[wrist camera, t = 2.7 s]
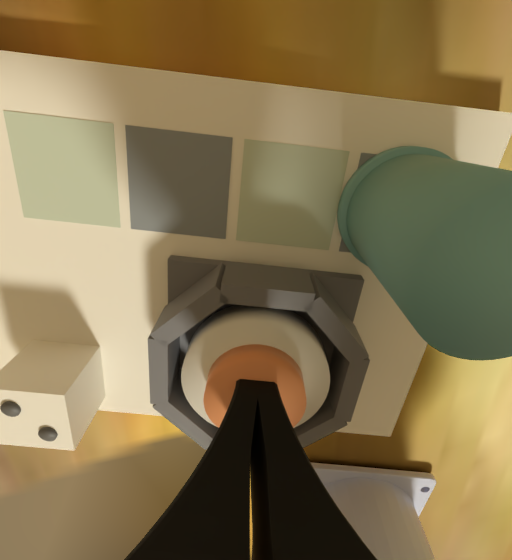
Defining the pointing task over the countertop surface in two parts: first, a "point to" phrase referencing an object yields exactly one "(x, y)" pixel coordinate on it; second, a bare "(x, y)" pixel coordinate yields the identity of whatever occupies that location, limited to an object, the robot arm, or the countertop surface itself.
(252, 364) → the dome button
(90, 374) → the game board
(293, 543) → the robot arm
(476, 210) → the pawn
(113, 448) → the countertop surface
